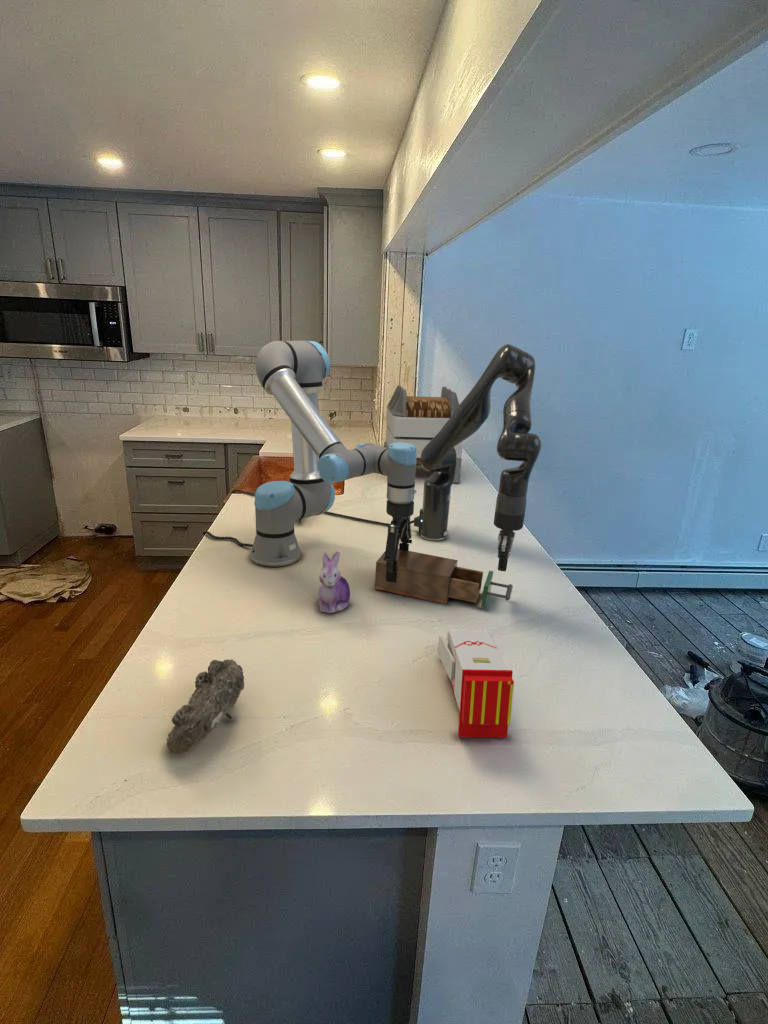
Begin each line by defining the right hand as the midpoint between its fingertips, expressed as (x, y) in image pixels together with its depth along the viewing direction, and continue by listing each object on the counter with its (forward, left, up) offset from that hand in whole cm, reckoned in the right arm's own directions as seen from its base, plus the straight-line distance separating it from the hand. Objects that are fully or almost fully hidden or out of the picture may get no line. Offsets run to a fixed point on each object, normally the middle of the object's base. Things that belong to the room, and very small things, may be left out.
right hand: (502, 569), depth 152 cm
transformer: (-85, +96, -10) cm, 129 cm away
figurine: (-33, -30, -10) cm, 46 cm away
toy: (+12, -39, -10) cm, 42 cm away
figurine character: (-85, +11, -10) cm, 87 cm away
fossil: (-24, -77, -10) cm, 81 cm away
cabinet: (-22, -7, -10) cm, 26 cm away
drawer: (-9, -3, -9) cm, 13 cm away
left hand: (-28, -9, -6) cm, 30 cm away
